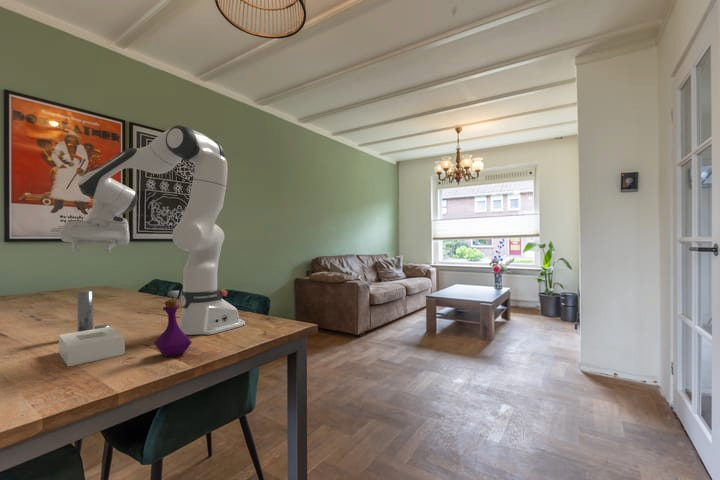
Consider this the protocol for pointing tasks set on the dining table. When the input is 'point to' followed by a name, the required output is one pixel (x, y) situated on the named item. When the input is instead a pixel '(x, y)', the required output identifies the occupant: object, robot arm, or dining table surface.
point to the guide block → (91, 345)
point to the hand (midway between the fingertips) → (91, 250)
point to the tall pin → (84, 310)
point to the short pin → (102, 326)
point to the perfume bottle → (172, 332)
